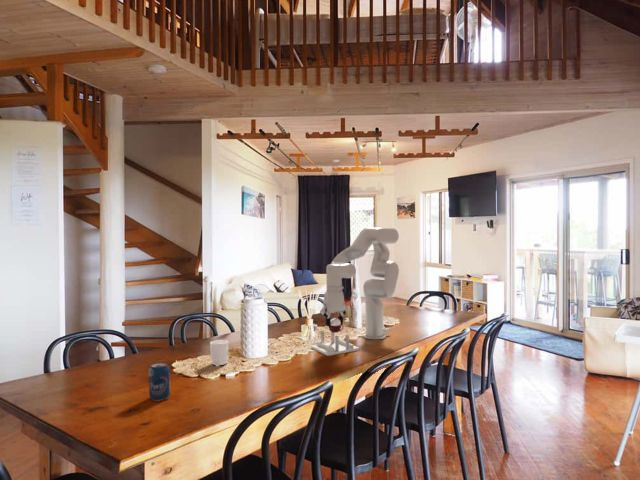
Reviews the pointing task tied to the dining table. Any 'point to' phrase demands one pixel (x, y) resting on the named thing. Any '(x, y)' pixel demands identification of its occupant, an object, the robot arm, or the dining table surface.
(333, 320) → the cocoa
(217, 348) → the white cup
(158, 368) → the soda can
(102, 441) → the dining table surface
